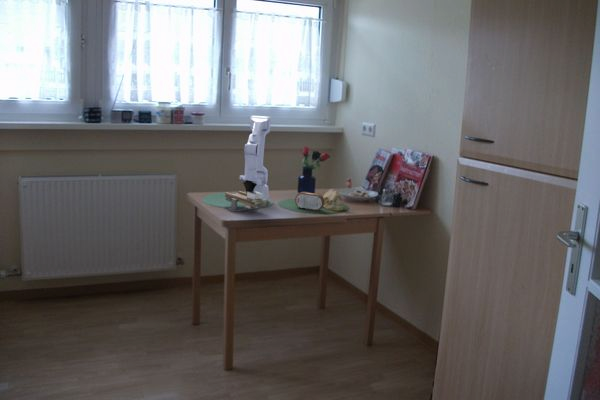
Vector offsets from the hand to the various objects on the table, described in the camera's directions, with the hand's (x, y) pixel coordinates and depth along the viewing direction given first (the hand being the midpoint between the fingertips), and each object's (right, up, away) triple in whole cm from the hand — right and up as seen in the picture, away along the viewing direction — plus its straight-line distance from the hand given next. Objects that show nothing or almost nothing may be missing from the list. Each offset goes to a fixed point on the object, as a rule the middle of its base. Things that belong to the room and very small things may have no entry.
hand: (249, 196), depth 289 cm
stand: (-3, -6, +5) cm, 8 cm away
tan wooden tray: (-2, -4, +3) cm, 5 cm away
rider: (+3, -2, -3) cm, 4 cm away
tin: (+29, -7, +14) cm, 33 cm away
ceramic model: (+41, -6, +22) cm, 47 cm away
